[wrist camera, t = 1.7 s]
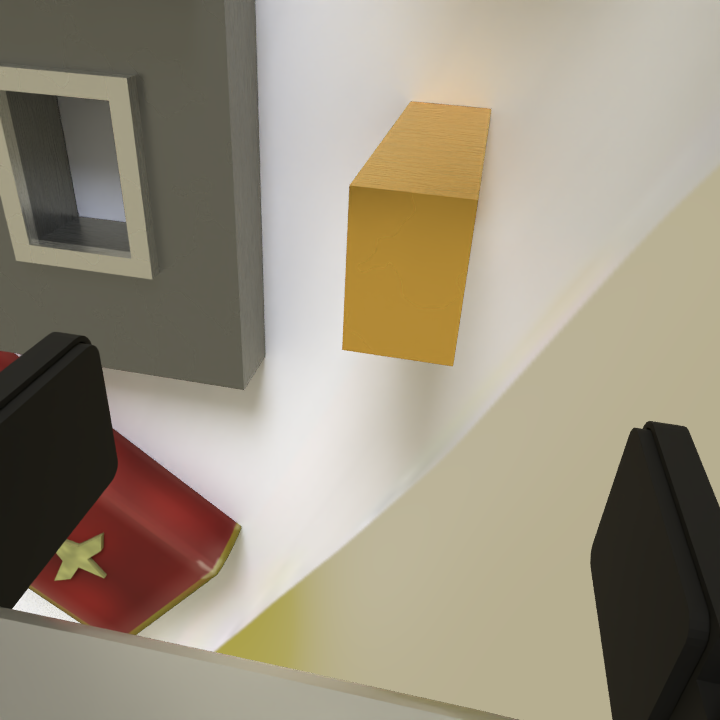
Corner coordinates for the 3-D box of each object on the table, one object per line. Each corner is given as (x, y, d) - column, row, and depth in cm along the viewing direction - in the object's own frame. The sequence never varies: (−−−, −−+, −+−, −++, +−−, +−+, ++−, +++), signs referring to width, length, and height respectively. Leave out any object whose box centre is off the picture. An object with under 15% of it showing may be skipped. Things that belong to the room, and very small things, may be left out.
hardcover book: (-64, 282, 34) (-131, 319, 31) (245, 520, 39) (219, 575, 35) (-128, 405, 40) (-190, 448, 37) (147, 597, 45) (115, 652, 41)
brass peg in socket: (410, 101, 25) (349, 185, 15) (491, 109, 24) (478, 199, 15) (400, 217, 27) (342, 350, 18) (473, 225, 26) (453, 366, 17)
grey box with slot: (-86, -111, 24) (-211, -126, 20) (252, -93, 22) (192, -106, 18) (22, 319, 34) (-47, 369, 29) (265, 355, 32) (227, 415, 28)
